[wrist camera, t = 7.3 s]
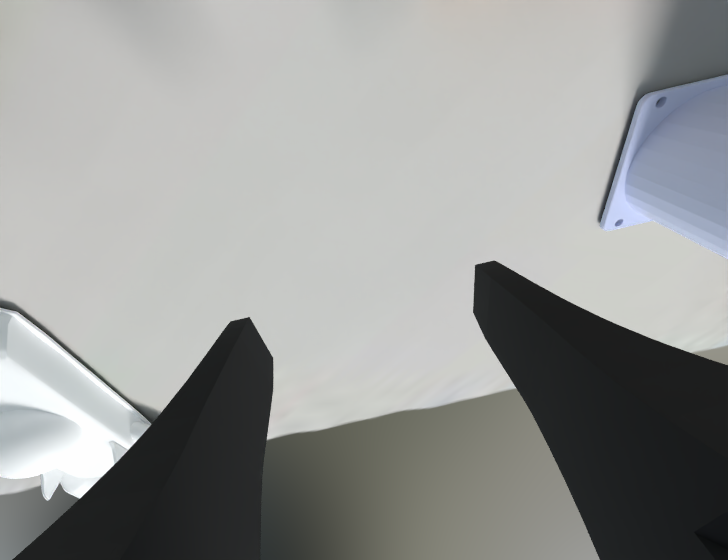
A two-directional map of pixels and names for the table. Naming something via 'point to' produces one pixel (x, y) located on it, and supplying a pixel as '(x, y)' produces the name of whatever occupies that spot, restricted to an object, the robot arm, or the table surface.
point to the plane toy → (57, 413)
